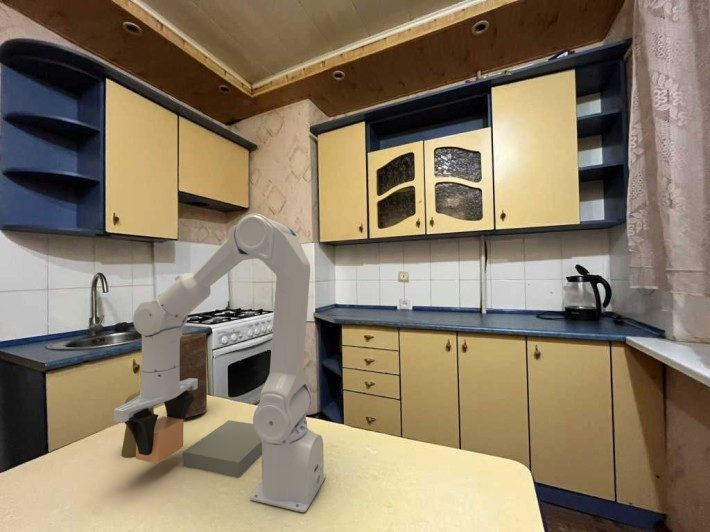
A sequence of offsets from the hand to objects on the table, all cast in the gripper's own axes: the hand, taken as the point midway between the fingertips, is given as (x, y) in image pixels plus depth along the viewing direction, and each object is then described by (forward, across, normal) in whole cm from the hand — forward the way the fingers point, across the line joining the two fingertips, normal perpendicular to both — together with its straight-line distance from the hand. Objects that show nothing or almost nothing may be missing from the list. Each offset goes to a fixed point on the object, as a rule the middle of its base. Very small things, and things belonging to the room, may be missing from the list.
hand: (160, 444), depth 52 cm
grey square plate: (+5, -8, +9) cm, 13 cm away
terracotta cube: (+2, 0, 0) cm, 2 cm away
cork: (+5, -4, -10) cm, 12 cm away
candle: (+5, -18, -12) cm, 22 cm away
